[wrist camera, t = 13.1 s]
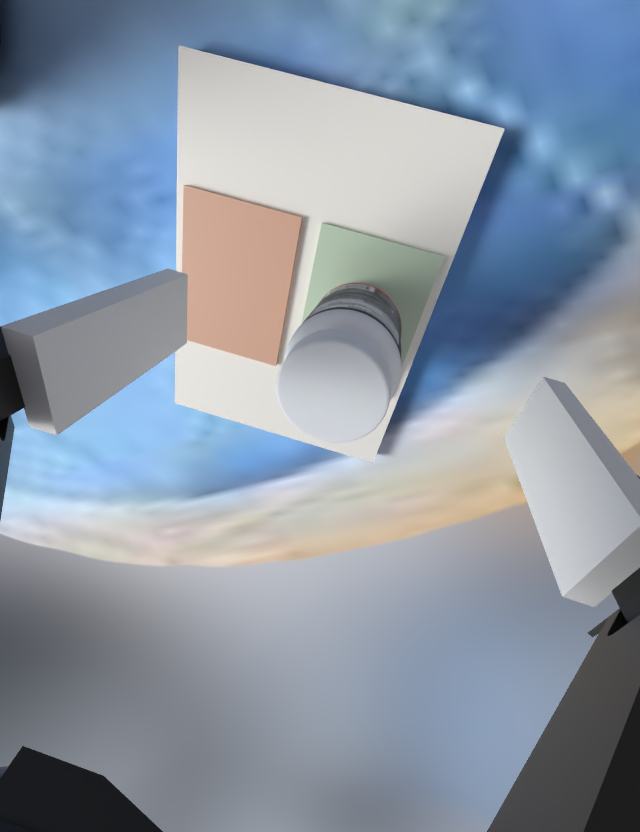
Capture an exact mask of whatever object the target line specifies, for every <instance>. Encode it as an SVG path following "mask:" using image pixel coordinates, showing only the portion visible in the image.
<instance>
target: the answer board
mask: <svg viewBox="0 0 640 832" xmlns="http://www.w3.org/2000/svg"><path fill="white" fill-rule="evenodd" d="M504 130H505V129H504V128H500V127H497V126H493V125H489V124H485V123H481V122H477V121H473V120H469V119H465V118H461V117H457V116H454V115H450V114H446V113H442V112H438V111H434V110H430V109H426V108H422V107H418V106H414V105H410V104H407V103H403V102H399V101H395V100H391V99H387V98H383V97H379V96H375V95H371V94H367V93H364V92H360V91H356V90H352V89H348V88H344V87H340V86H336V85H332V84H328V83H324V82H320V81H317V80H313V79H309V78H305V77H301V76H297V75H293V74H289V73H285V72H281V71H277V70H274V69H270V68H266V67H262V66H258V65H254V64H250V63H246V62H242V61H238V60H234V59H231V58H227V57H223V56H219V55H215V54H211V53H207V52H203V51H199V50H195V49H191V48H187V47H184V46H180V45H178V133H177V237H176V271H178V272H181V273H185V274H188V291H187V344H185V345H184V346H182V347H181V348H179V349H178V350H177V351H175V403H176V404H179V405H183V406H186V407H189V408H193V409H196V410H199V411H203V412H206V413H209V414H213V415H216V416H219V417H223V418H226V419H229V420H232V421H236V422H239V423H242V424H246V425H249V426H252V427H256V428H259V429H262V430H266V431H269V432H272V433H276V434H279V435H282V436H285V437H289V438H292V439H295V440H299V441H302V442H305V443H309V444H312V445H315V446H319V447H322V448H325V449H329V450H332V451H335V452H339V453H342V454H345V455H348V456H352V457H355V458H358V459H362V460H365V461H368V462H372V463H373V462H374V459H375V457H376V454H377V451H378V449H379V446H380V444H381V441H382V439H383V436H384V434H385V431H386V429H387V426H388V424H389V421H390V419H391V416H392V413H393V411H394V408H395V406H396V403H397V401H398V398H399V396H400V393H401V391H402V388H403V386H404V383H405V381H406V378H407V375H408V373H409V370H410V368H411V365H412V363H413V360H414V358H415V355H416V353H417V350H418V348H419V345H420V342H421V340H422V337H423V335H424V332H425V330H426V327H427V325H428V322H429V320H430V317H431V315H432V312H433V310H434V307H435V304H436V302H437V299H438V297H439V294H440V292H441V289H442V287H443V284H444V282H445V279H446V277H447V274H448V271H449V269H450V266H451V264H452V261H453V259H454V256H455V254H456V251H457V249H458V246H459V244H460V241H461V239H462V236H463V233H464V231H465V228H466V226H467V223H468V221H469V218H470V216H471V213H472V211H473V208H474V206H475V203H476V201H477V198H478V195H479V193H480V190H481V188H482V185H483V183H484V180H485V178H486V175H487V173H488V170H489V168H490V165H491V162H492V160H493V157H494V155H495V152H496V150H497V147H498V145H499V142H500V140H501V137H502V135H503V132H504ZM352 282H361V283H367V284H370V285H373V286H375V287H378V288H379V289H381V290H382V291H384V292H385V293H386V294H387V295H388V296H389V297H390V298H391V299H392V301H393V302H394V304H395V306H396V307H397V309H398V312H399V315H400V318H401V326H402V331H401V377H400V382H399V385H398V388H397V390H396V392H395V394H394V396H393V397H392V399H391V400H390V402H389V407H388V410H387V413H386V415H385V417H384V418H383V420H382V422H381V423H380V424H379V425H378V426H377V427H376V429H374V430H373V431H372V432H371V433H369V434H368V435H366V436H364V437H362V438H360V439H358V440H354V441H351V442H345V443H330V442H324V441H321V440H317V439H314V438H312V437H310V436H308V435H306V434H304V433H303V432H301V431H300V430H298V429H297V428H296V427H295V426H294V425H293V424H292V423H291V422H290V421H289V420H288V419H287V418H286V416H285V415H284V413H283V412H282V409H281V407H280V405H279V402H278V398H277V392H276V384H277V376H278V373H279V370H280V368H281V366H282V364H283V362H284V360H285V352H286V349H287V346H288V343H289V341H290V339H291V338H292V336H293V334H294V333H295V331H296V330H297V329H298V328H299V326H300V325H301V324H302V323H303V322H304V321H305V319H306V318H307V317H308V316H309V315H310V313H311V312H312V311H313V310H314V308H315V307H316V306H317V304H318V303H319V302H320V300H321V299H322V298H323V297H324V296H325V295H326V294H327V293H328V292H329V291H331V290H332V289H334V288H335V287H337V286H340V285H342V284H346V283H352Z"/></svg>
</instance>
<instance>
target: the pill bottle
mask: <svg viewBox="0 0 640 832" xmlns="http://www.w3.org/2000/svg"><path fill="white" fill-rule="evenodd" d="M401 331H402V326H401V318H400V315H399V312H398V309H397V307H396V306H395V304H394V302H393V301H392V299H391V298H390V297H389V296H388V295H387V294H386V293H385V292H384V291H382V290H381V289H379V288H378V287H375V286H373V285H370V284H367V283H361V282H352V283H346V284H342V285H340V286H337V287H335V288H334V289H332V290H331V291H329V292H328V293H327V294H326V295H325V296H324V297H323V298H322V299H321V300H320V302H319V303H318V304H317V306H316V307H315V308H314V310H313V311H312V312H311V313H310V315H309V316H308V317H307V318H306V319H305V321H304V322H303V323H302V324H301V325H300V326H299V328H298V329H297V330H296V331H295V333H294V334H293V336H292V338H291V339H290V341H289V343H288V346H287V349H286V352H285V360H284V362H283V364H282V366H281V368H280V370H279V373H278V376H277V384H276V392H277V398H278V402H279V405H280V407H281V409H282V412H283V413H284V415H285V416H286V418H287V419H288V420H289V421H290V422H291V423H292V424H293V425H294V426H295V427H296V428H297V429H298V430H300V431H301V432H303V433H304V434H306V435H308V436H310V437H312V438H314V439H317V440H321V441H324V442H330V443H345V442H351V441H354V440H358V439H360V438H362V437H364V436H366V435H368V434H369V433H371V432H372V431H373V430H374V429H376V427H377V426H378V425H379V424H380V423H381V422H382V420H383V418H384V417H385V415H386V413H387V410H388V407H389V402H390V400H391V399H392V397H393V396H394V394H395V392H396V390H397V388H398V385H399V382H400V377H401Z"/></svg>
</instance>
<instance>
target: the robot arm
mask: <svg viewBox="0 0 640 832" xmlns="http://www.w3.org/2000/svg"><path fill="white" fill-rule="evenodd" d="M187 291H188V274H185V273H181V272H178V271H174V270H171V269H166V270H163V271H160V272H157V273H154V274H151V275H148V276H145V277H143V278H140V279H137V280H134V281H131V282H128V283H125V284H122V285H119V286H117V287H114V288H111V289H108V290H105V291H102V292H99V293H96V294H93V295H90V296H88V297H85V298H82V299H79V300H76V301H73V302H70V303H67V304H64V305H62V306H59V307H56V308H53V309H50V310H47V311H44V312H41V313H38V314H35V315H33V316H30V317H27V318H24V319H21V320H18V321H15V322H12V323H9V324H7V325H4V326H1V327H0V519H1V512H2V506H3V499H4V493H5V486H6V479H7V473H8V466H9V460H10V453H11V446H12V440H13V433H14V424H13V421H12V418H11V415H12V414H14V413H15V412H17V411H19V410H21V409H22V408H24V409H25V413H26V416H27V420H28V423H29V427H32V428H35V429H38V430H41V431H44V432H48V433H51V434H54V435H58V434H59V433H61V432H62V431H64V430H65V429H67V428H68V427H69V426H71V425H72V424H74V423H75V422H76V421H78V420H79V419H81V418H82V417H83V416H85V415H86V414H88V413H89V412H91V411H92V410H93V409H95V408H96V407H98V406H99V405H100V404H102V403H103V402H105V401H106V400H107V399H109V398H110V397H112V396H113V395H115V394H116V393H117V392H119V391H120V390H122V389H123V388H124V387H126V386H127V385H129V384H130V383H131V382H133V381H134V380H136V379H137V378H139V377H140V376H141V375H143V374H144V373H146V372H147V371H148V370H150V369H151V368H153V367H154V366H155V365H157V364H158V363H160V362H161V361H163V360H164V359H165V358H167V357H168V356H170V355H171V354H172V353H174V352H175V351H177V350H178V349H179V348H181V347H182V346H184V345H185V344H187ZM504 440H505V443H506V445H507V448H508V451H509V454H510V456H511V459H512V462H513V464H514V467H515V470H516V472H517V475H518V478H519V481H520V483H521V486H522V489H523V491H524V494H525V497H526V500H527V502H528V505H529V507H530V510H531V513H532V516H533V518H534V521H535V524H536V527H537V529H538V532H539V535H540V537H541V540H542V543H543V546H544V548H545V551H546V554H547V556H548V559H549V562H550V565H551V567H552V570H553V573H554V575H555V578H556V581H557V584H558V586H559V589H560V592H561V594H562V597H565V598H568V599H571V600H574V601H577V602H580V603H584V604H587V605H590V606H593V607H595V606H596V605H597V604H599V603H600V602H601V601H602V600H603V599H605V598H606V597H607V596H608V595H610V594H611V593H613V595H614V597H615V599H616V601H617V603H618V605H619V607H620V609H618V610H617V611H616V612H614V613H613V614H612V615H611V616H609V617H608V618H607V619H605V620H604V621H603V622H602V623H600V624H599V625H597V626H596V627H595V628H594V629H592V630H591V631H590V632H588V634H590V635H591V636H592V637H594V636H595V635H597V634H599V635H598V636H597V638H596V640H595V642H594V643H593V645H592V647H591V649H590V651H589V652H588V654H587V656H586V658H585V659H584V661H583V663H582V665H581V666H580V668H579V670H578V672H577V674H576V675H575V677H574V679H573V681H572V682H571V684H570V686H569V688H568V689H567V692H566V693H565V695H564V697H563V698H562V700H561V702H560V704H559V706H558V707H557V709H556V711H555V712H554V714H553V716H552V718H551V719H550V721H549V723H548V725H547V727H546V728H545V730H544V732H543V734H542V735H541V738H540V739H539V741H538V743H537V744H536V746H535V748H534V750H533V751H532V753H531V755H530V757H529V758H528V760H527V762H526V764H525V765H524V767H523V769H522V771H521V772H520V774H519V776H518V778H517V780H516V781H515V783H514V785H513V787H512V788H511V790H510V792H509V794H508V795H507V797H506V799H505V801H504V803H503V805H502V806H501V808H500V810H499V811H498V813H497V815H496V817H495V818H494V820H493V822H492V824H491V825H490V827H489V829H488V831H487V832H640V477H639V476H638V475H637V474H635V473H634V471H633V470H632V469H631V467H630V466H629V465H628V463H627V462H626V461H625V460H624V458H623V457H622V456H621V454H620V453H619V452H618V451H617V449H616V448H615V447H614V445H613V444H612V443H611V442H610V440H609V439H608V438H607V436H606V435H605V434H604V433H603V431H602V430H601V429H600V427H599V426H598V425H597V424H596V422H595V421H594V420H593V418H592V417H591V416H590V415H589V413H588V412H587V411H586V410H585V408H584V407H583V406H582V404H581V403H580V402H579V401H578V399H577V398H576V397H575V395H574V394H573V393H572V392H571V390H570V389H569V388H568V386H567V385H566V384H565V383H563V382H560V381H556V380H553V379H549V378H546V377H542V379H541V380H540V382H539V384H538V385H537V387H536V388H535V390H534V391H533V393H532V395H531V396H530V398H529V399H528V401H527V402H526V404H525V406H524V407H523V409H522V410H521V412H520V413H519V415H518V416H517V418H516V420H515V421H514V423H513V424H512V426H511V427H510V429H509V431H508V432H507V434H506V435H505V437H504ZM0 832H162V831H161V830H160V829H159V828H158V827H157V826H156V825H155V824H154V823H153V822H152V821H151V820H150V819H149V818H148V817H147V816H146V815H145V814H143V813H142V812H141V811H140V810H139V809H138V808H137V807H136V806H135V805H134V804H133V803H132V802H131V801H130V800H129V799H128V798H126V797H125V796H124V795H123V794H122V793H121V792H120V791H119V790H118V789H117V788H116V787H115V786H114V785H113V784H112V783H110V781H108V780H107V779H106V778H105V777H104V776H102V775H100V774H97V773H94V772H91V771H89V770H86V769H83V768H81V767H78V766H75V765H73V764H70V763H67V762H64V761H62V760H59V759H56V758H54V757H51V756H48V755H46V754H43V753H40V752H37V751H35V750H32V749H29V748H26V747H24V746H22V748H21V750H20V751H19V752H18V754H17V755H16V757H15V758H14V759H13V761H12V762H11V764H10V765H9V767H0Z"/></svg>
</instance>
